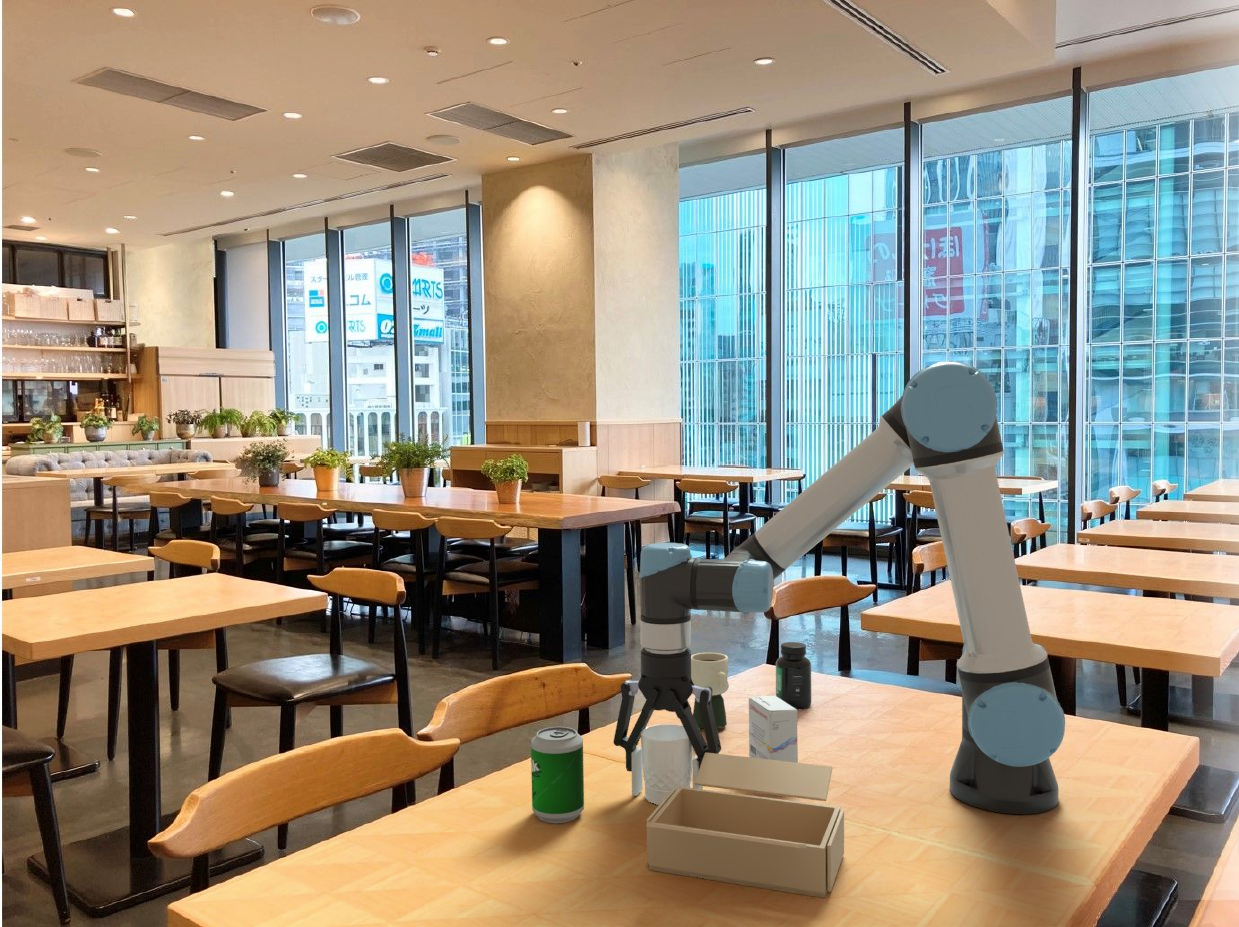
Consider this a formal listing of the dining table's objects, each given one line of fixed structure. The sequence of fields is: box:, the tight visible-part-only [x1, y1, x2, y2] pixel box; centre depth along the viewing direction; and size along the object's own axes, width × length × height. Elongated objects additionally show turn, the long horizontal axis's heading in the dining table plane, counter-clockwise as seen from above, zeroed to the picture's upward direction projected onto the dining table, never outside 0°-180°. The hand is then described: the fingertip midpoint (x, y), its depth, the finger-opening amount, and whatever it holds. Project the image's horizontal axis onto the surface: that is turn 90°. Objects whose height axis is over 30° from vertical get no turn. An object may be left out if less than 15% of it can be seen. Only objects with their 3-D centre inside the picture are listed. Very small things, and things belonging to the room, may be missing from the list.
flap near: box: [646, 822, 806, 848], centre depth 117 cm, size 18×1×6 cm
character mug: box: [691, 652, 730, 729], centre depth 180 cm, size 11×7×13 cm, turn 26°
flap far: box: [695, 752, 833, 802], centre depth 136 cm, size 18×1×6 cm
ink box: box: [748, 695, 799, 763], centre depth 156 cm, size 8×5×12 cm, turn 16°
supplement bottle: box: [775, 641, 812, 710], centre depth 193 cm, size 7×7×12 cm
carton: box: [646, 787, 845, 899], centre depth 127 cm, size 23×13×6 cm, turn 69°
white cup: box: [640, 723, 694, 806], centre depth 148 cm, size 8×8×10 cm
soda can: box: [530, 726, 585, 824], centre depth 142 cm, size 8×8×12 cm
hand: (667, 796), depth 148 cm, fingers open, 9 cm apart
